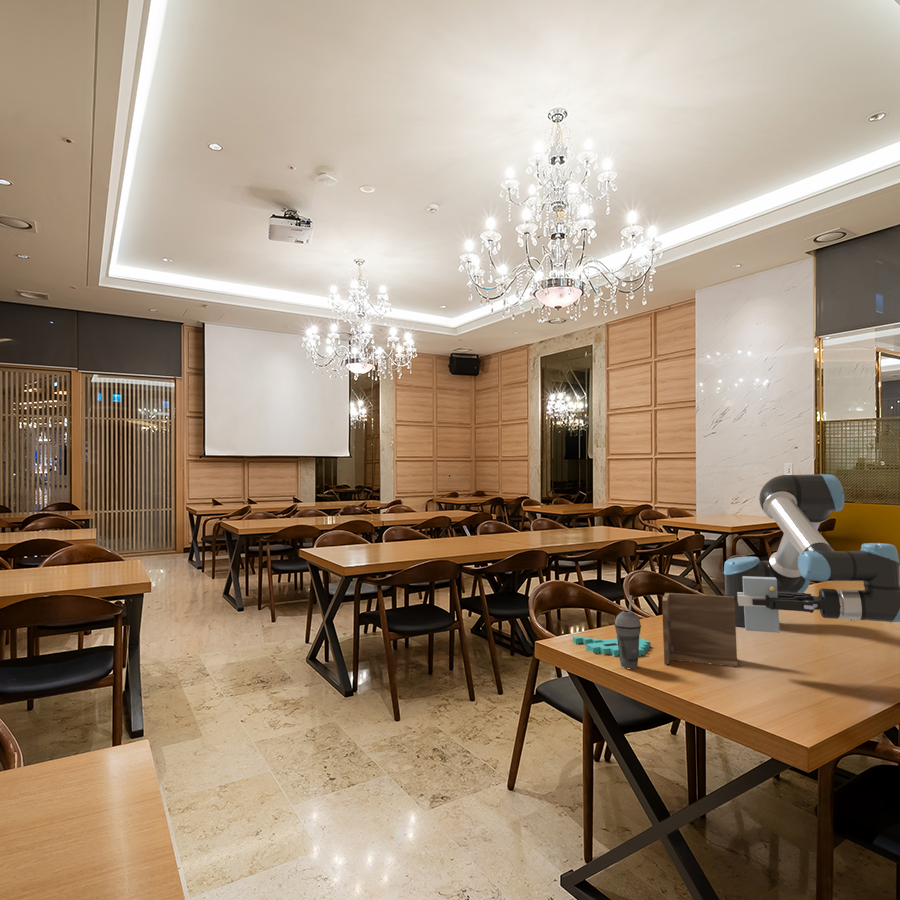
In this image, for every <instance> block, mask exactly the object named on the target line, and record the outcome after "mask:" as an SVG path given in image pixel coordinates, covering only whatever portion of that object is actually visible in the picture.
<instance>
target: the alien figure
mask: <svg viewBox="0 0 900 900" xmlns="http://www.w3.org/2000/svg"><path fill="white" fill-rule="evenodd" d="M573 642H574V643H573ZM572 643H573V644H575V643H583V644H582V645H584V644H585V645H584V646H585V648H586V649H587V650H586V649H585V650H586V651H588V650H589V651H591V652H593V653H596V654H601V653H602V654H601V655H603V654H609V655H610V654H612V655H614V656H613V657H618V656H617V655H619V648H618V640H617V636H616V637H615V638H612V639H611V638H609V639H599V638H597V637H596V638H591V637H588V636H586V637H582V636H579V635H577V636H572ZM651 645H652V644H651V641H649V640H647V639H645V638H643V637H641V638H640V637H639V653H638V657H642V656H641V655H644V656H645V654H646V653H645V652H648V651H649V649H650V648H649V647H651ZM589 651H588V652H589ZM591 652H590V653H591ZM598 652H600V653H598ZM593 653H592V654H593ZM612 655H611V656H612Z"/></svg>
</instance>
